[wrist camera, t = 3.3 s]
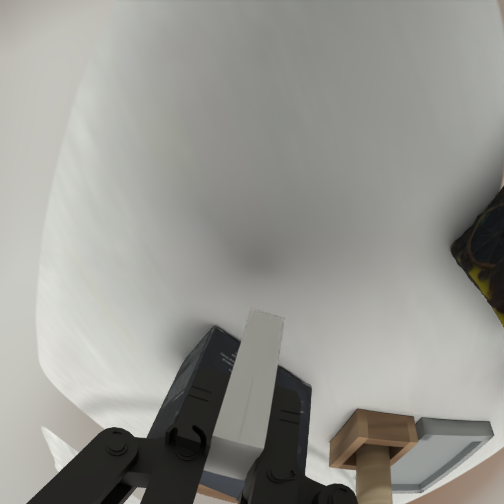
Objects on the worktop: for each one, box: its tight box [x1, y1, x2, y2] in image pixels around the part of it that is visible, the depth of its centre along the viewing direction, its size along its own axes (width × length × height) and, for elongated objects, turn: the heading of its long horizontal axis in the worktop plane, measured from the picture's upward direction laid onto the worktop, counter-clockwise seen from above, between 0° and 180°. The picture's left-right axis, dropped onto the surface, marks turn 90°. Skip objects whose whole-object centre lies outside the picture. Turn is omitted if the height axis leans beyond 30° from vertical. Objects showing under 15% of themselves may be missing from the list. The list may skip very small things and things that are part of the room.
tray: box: [390, 418, 494, 494], centre depth 25 cm, size 14×10×2 cm
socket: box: [329, 409, 418, 470], centre depth 24 cm, size 6×6×3 cm
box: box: [147, 327, 312, 499], centre depth 20 cm, size 9×6×10 cm, turn 54°
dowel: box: [356, 443, 393, 504], centre depth 19 cm, size 3×3×14 cm
